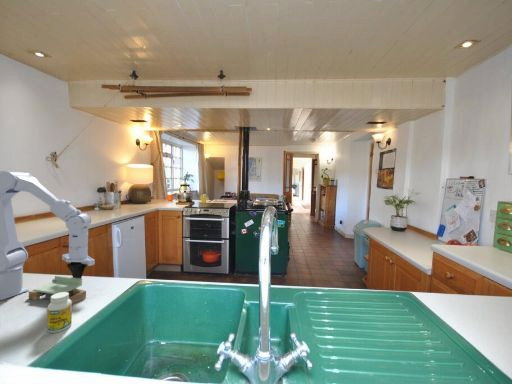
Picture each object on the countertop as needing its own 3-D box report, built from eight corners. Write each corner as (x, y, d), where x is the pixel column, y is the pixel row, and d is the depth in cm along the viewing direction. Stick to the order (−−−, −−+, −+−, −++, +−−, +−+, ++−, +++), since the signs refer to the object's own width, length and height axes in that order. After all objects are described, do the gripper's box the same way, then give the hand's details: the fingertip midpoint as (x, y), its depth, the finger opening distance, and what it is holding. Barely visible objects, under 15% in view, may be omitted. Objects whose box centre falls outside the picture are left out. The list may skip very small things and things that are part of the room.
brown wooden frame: (28, 298, 82) (28, 290, 82) (54, 288, 90) (54, 280, 90) (65, 307, 77) (65, 298, 77) (89, 296, 85) (89, 288, 85)
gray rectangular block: (45, 299, 82) (45, 293, 82) (51, 296, 84) (51, 290, 84) (66, 301, 82) (66, 294, 82) (72, 297, 84) (72, 291, 84)
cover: (31, 290, 81) (31, 283, 81) (56, 280, 89) (56, 274, 89) (61, 295, 79) (61, 287, 79) (83, 284, 88) (84, 277, 87)
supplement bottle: (72, 320, 71) (73, 289, 71) (70, 329, 66) (71, 296, 66) (48, 325, 68) (49, 293, 68) (45, 335, 63) (45, 301, 63)
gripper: (53, 245, 87) (52, 281, 87) (81, 251, 82) (80, 289, 83) (73, 241, 93) (72, 274, 94) (100, 246, 89) (99, 281, 89)
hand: (77, 280), depth 89 cm, fingers closed, pressing on cover
